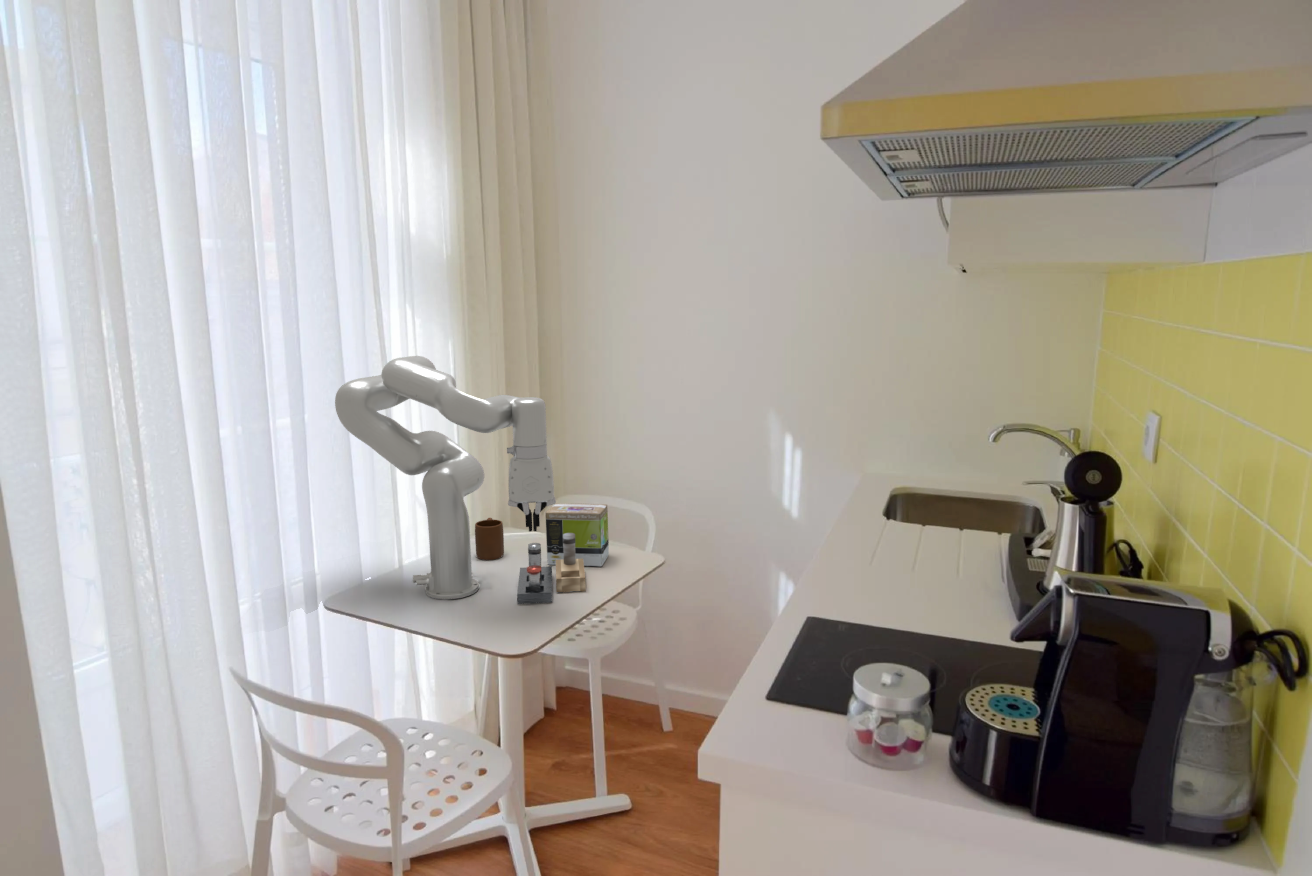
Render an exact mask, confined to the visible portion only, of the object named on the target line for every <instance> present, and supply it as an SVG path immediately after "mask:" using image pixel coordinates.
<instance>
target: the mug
mask: <svg viewBox="0 0 1312 876" xmlns="http://www.w3.org/2000/svg"><path fill="white" fill-rule="evenodd" d="M503 525H504V523H503V521H502V520H499V519H493V518H492V517H488V518H487V519H483V520H479V521H476V522H475V524H474V539H475V541H474V542H475V543H474V544H475V555H476V558H478V559H479V560H483V561H493V560H498V559H500V558H502V557H503V556H504V554H505V545H504V543H505V542H504V541H505V538H504V535H505V534H504V526H503Z"/></svg>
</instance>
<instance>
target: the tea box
mask: <svg viewBox="0 0 1312 876" xmlns="http://www.w3.org/2000/svg"><path fill="white" fill-rule="evenodd" d="M608 512H609V510H608V504H602V503H599V504H598V503H595V504H594V503H593V504H592V503H591V504H589V503H555V504H553V505H551V507H550V508H548V510H546V512H545V537H546V559H547V565H550V566H553V565H555V566H556V560H562V559H564V552H563V534H565V533H574V534H575V555H576V559H583V562H584V567H603V565H604V564H605V562H606V560H607V559H608V557H609V547H610V546H609V517H608Z"/></svg>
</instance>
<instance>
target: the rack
mask: <svg viewBox="0 0 1312 876" xmlns="http://www.w3.org/2000/svg"><path fill="white" fill-rule="evenodd" d="M563 552H564V559H562V560H556V565H555V584H556V585H555V591H556V592H563V593H571V592H570V591H582V592H586V588H587V587H586V572H585V566H584V562H583V559H576V555H575V534H574V533H565V534H563Z"/></svg>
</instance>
